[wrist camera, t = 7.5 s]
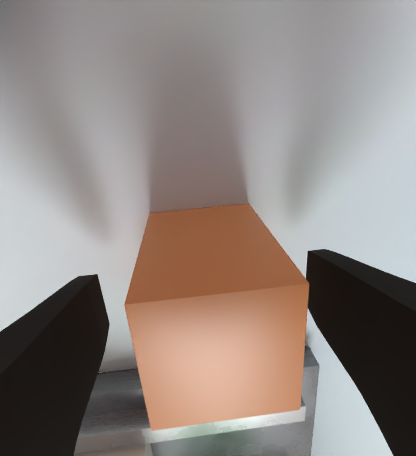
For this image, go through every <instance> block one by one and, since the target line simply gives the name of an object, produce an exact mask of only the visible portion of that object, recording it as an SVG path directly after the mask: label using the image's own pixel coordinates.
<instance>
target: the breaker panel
mask: <svg viewBox="0 0 416 456" xmlns="http://www.w3.org/2000/svg"><path fill="white" fill-rule="evenodd" d="M318 374H319V364H318V362H317V360H316V359H315V357H314V355H313V353H312V351H311V350H310V348H309V347H305V351H304V365H303V380H302V394H301V408H300V410H296V411H289V412H282V413H275V414H268V415H261V416H254V417H247V418H240V419H232V420H225V421H218V422H211V423H204V424H197V425H190V426H183V427H176V428H169V429H162V430H155V431H151V427H150V422H149V417H148V413H147V408H146V403H145V399H144V394H143V389H142V385H141V380H140V375H139V371H138V369H132V370H124V371H116V372H109V373H101V374H97V377H96V381H95V384H94V387H93V390H92V393H91V396H90V399H89V402H88V405H87V408H86V411H85V414H84V417H83V420H82V424H81V427H80V431H79V435H78V438H77V442H76V447H75V451H74V454H78V453H85V452H92V451H99V450H106V449H113V448H120V447H127V446H134V445H141V444H148V443H150V444H151V449H152V453H153V456H311V446H312V436H313V426H314V415H315V405H316V395H317V385H318Z"/></svg>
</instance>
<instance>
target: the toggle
mask: <svg viewBox="0 0 416 456" xmlns="http://www.w3.org/2000/svg"><path fill="white" fill-rule="evenodd" d="M74 456H153V453H152V449H151V444H150V443H148V444H141V445H134V446H127V447H120V448H113V449H106V450H99V451H92V452H85V453H78V454H74Z"/></svg>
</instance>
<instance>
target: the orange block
mask: <svg viewBox="0 0 416 456" xmlns="http://www.w3.org/2000/svg"><path fill="white" fill-rule="evenodd" d="M308 295H309V282H308V281H307V280H306V279H305V277H304V276H303V275H302V273H301V272H300V271H299V269H298V268H297V267H296V265H295V264H294V263H293V261H292V260H291V259H290V257H289V256H288V255H287V253H286V252H285V251H284V250H283V248H282V247H281V246H280V244H279V243H278V242H277V240H276V239H275V238H274V236H273V235H272V234H271V232H270V231H269V230H268V228H267V227H266V226H265V224H264V223H263V222H262V221H261V219H260V218H259V217H258V215H257V214H256V213H255V211H254V210H253V209H252V207H251V206H250V205H249V203H248V204H238V205H227V206H217V207H207V208H196V209H186V210H175V211H165V212H155V213H150V214H149V217H148V221H147V225H146V228H145V232H144V235H143V239H142V243H141V246H140V250H139V254H138V257H137V261H136V264H135V268H134V272H133V275H132V279H131V283H130V286H129V290H128V293H127V297H126V301H125V304H124V305H125V310H126V315H127V319H128V324H129V329H130V333H131V338H132V343H133V347H134V352H135V357H136V361H137V366H138V371H139V375H140V380H141V385H142V389H143V394H144V399H145V403H146V408H147V413H148V417H149V422H150V427H151V431H155V430H162V429H169V428H176V427H183V426H190V425H197V424H204V423H211V422H218V421H225V420H232V419H240V418H247V417H254V416H261V415H268V414H275V413H282V412H289V411H296V410H300V408H301V394H302V380H303V365H304V351H305V337H306V323H307V309H308Z"/></svg>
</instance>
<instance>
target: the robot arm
mask: <svg viewBox="0 0 416 456" xmlns="http://www.w3.org/2000/svg"><path fill="white" fill-rule="evenodd" d="M306 280H307V281H308V282H309V295H308V309H309V311H310V313H311V315H312V317H313V319H314V321H315V323H316V325H317V327H318V328H319V330H320V331H321V333H322V334H323V336H324V338H325V339H326V341H327V342H328V344H329V345H330V347H331V348H332V350H333V351H334V353H335V354H336V356H337V357H338V359H339V360H340V362H341V363H342V365H343V366H344V368H345V369H346V371H347V372H348V374H349V375H350V377H351V378H352V380H353V381H354V383H355V385H356V386H357V388H358V390H359V391H360V393H361V395H362V396H363V398H364V400H365V402H366V404H367V405H368V407H369V409H370V411H371V413H372V415H373V417H374V419H375V420H376V422H377V424H378V426H379V428H380V430H381V432H382V434H383V436H384V438H385V440H386V442H387V444H388V446H389V448H390V450H391V452H392V454H393V456H416V283H414V282H411V281H408V280H405V279H403V278H400V277H397V276H394V275H392V274H389V273H386V272H384V271H381V270H379V269H376V268H374V267H371V266H369V265H366V264H364V263H361V262H359V261H356V260H354V259H352V258H349V257H347V256H344V255H341V254H339V253H336V252H333V251H330V250H326V249H321V250H312V251H308V256H307V271H306ZM108 330H109V320H108V316H107V312H106V308H105V304H104V299H103V295H102V291H101V287H100V283H99V279H98V275H97V274H95V275H86V276H78V277H77V278H75V279H73V280H72V281H70V282H69V283H68V284H66V285H65V286H63V287H62V288H61V289H59V290H58V291H57V292H55V293H54V294H53V295H51V296H50V297H49V298H47V299H46V300H44V301H43V302H42V303H40V304H39V305H38V306H36V307H35V308H34V309H32V310H31V311H30V312H28V313H27V314H25V315H24V316H22V317H21V318H19V319H18V320H17V321H15V322H14V323H12V324H11V325H9V326H8V327H6V328H5V329H3V330H2V331H1V332H0V456H74V451H75V447H76V442H77V438H78V435H79V431H80V427H81V424H82V420H83V417H84V414H85V411H86V408H87V405H88V402H89V399H90V396H91V393H92V390H93V387H94V384H95V381H96V377H97V374H98V371H99V368H100V365H101V362H102V359H103V355H104V352H105V347H106V342H107V336H108Z"/></svg>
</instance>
